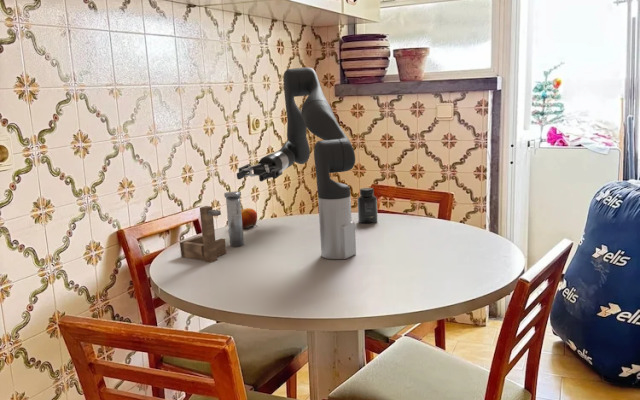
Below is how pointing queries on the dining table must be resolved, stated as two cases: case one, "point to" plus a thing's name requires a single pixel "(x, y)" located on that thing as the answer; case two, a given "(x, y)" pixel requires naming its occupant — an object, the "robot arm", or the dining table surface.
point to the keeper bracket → (204, 239)
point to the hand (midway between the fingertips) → (248, 177)
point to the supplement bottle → (367, 206)
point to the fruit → (248, 217)
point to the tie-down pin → (234, 218)
